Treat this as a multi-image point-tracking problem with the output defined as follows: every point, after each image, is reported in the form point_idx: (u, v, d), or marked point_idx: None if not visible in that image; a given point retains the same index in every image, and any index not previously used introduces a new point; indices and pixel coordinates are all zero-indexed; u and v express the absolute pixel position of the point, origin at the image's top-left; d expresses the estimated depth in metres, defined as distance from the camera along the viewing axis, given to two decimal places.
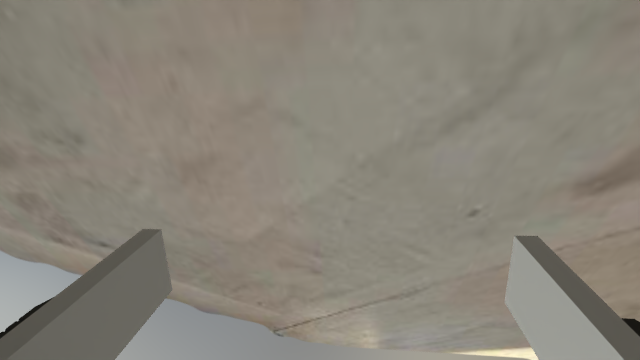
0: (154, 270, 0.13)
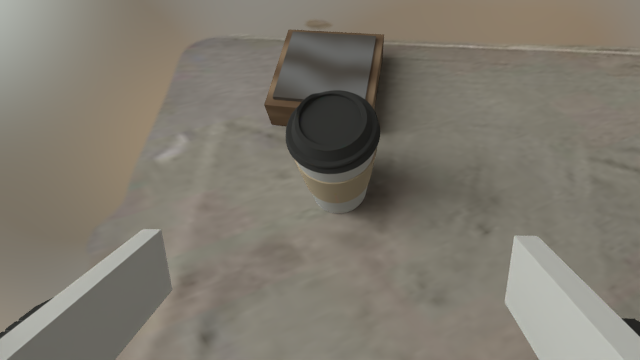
0: (154, 270, 0.13)
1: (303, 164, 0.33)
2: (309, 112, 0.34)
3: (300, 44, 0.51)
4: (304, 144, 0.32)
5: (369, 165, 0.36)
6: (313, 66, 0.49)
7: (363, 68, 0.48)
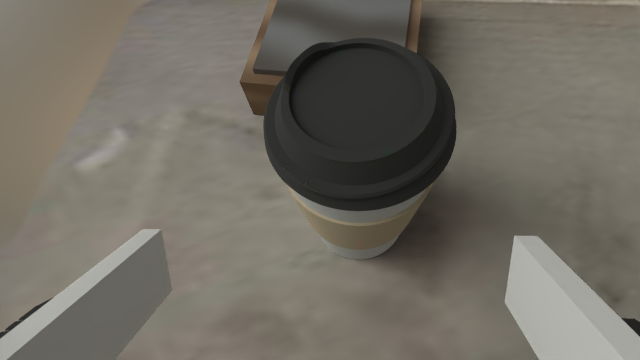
0: (154, 270, 0.13)
1: (298, 189, 0.16)
2: (312, 80, 0.16)
3: None
4: (300, 147, 0.15)
5: (428, 188, 0.18)
6: (317, 23, 0.31)
7: (395, 25, 0.30)
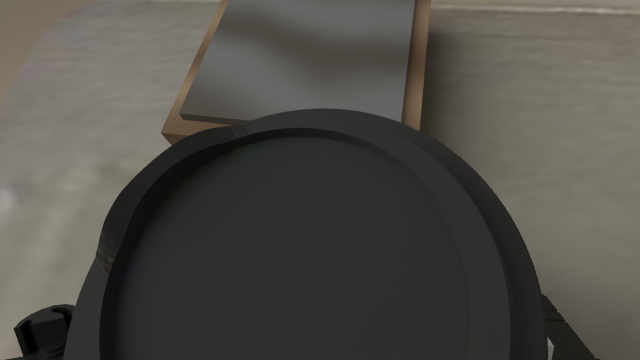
0: None
1: None
2: (182, 227, 0.07)
3: None
4: None
5: None
6: (278, 44, 0.22)
7: (392, 48, 0.21)
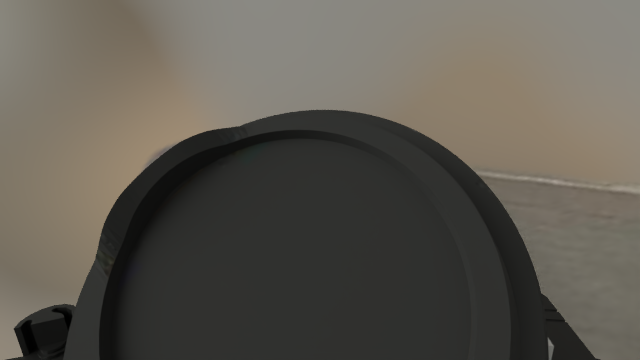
0: None
1: None
2: (182, 229, 0.07)
3: None
4: None
5: None
6: None
7: None
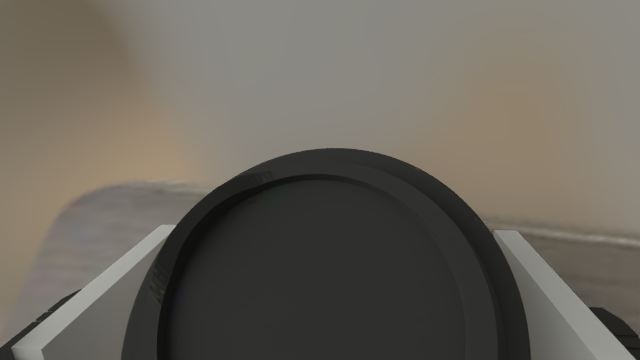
0: None
1: None
2: (220, 261, 0.08)
3: None
4: None
5: None
6: None
7: None
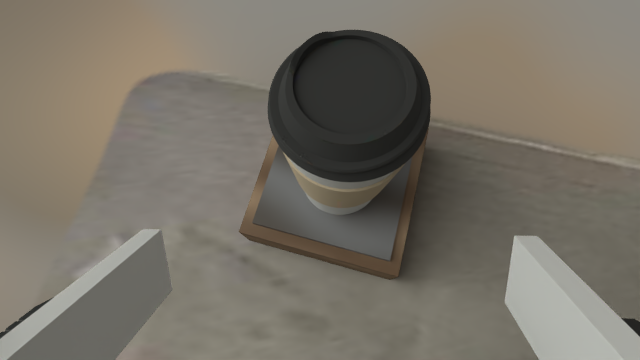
0: (154, 270, 0.13)
1: (294, 159, 0.19)
2: (313, 66, 0.19)
3: None
4: (299, 126, 0.18)
5: (401, 165, 0.22)
6: None
7: (393, 191, 0.32)
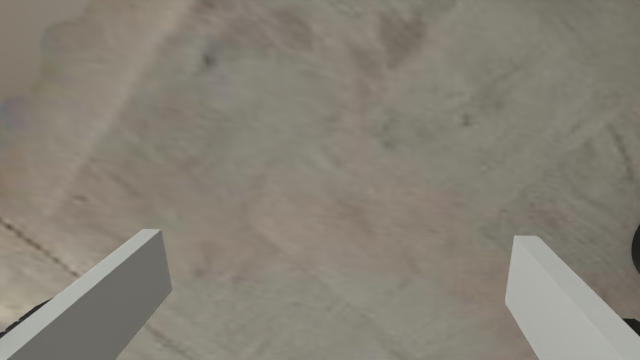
0: (154, 270, 0.13)
1: None
2: None
3: None
4: None
5: None
6: None
7: None
